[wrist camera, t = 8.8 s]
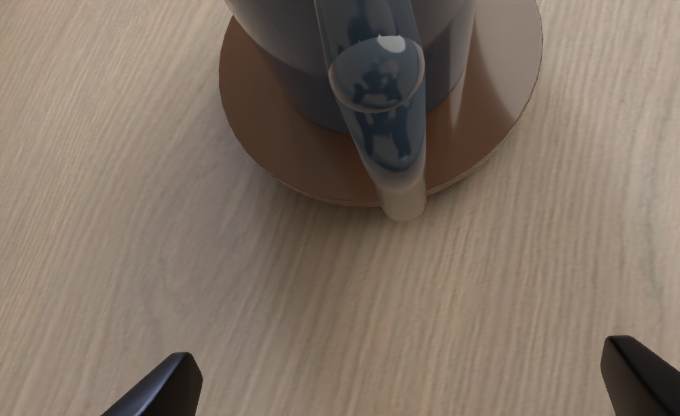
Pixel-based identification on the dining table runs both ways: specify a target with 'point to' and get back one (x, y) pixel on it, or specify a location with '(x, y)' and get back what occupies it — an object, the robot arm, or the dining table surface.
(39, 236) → the dining table surface
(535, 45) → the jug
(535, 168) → the dining table surface
